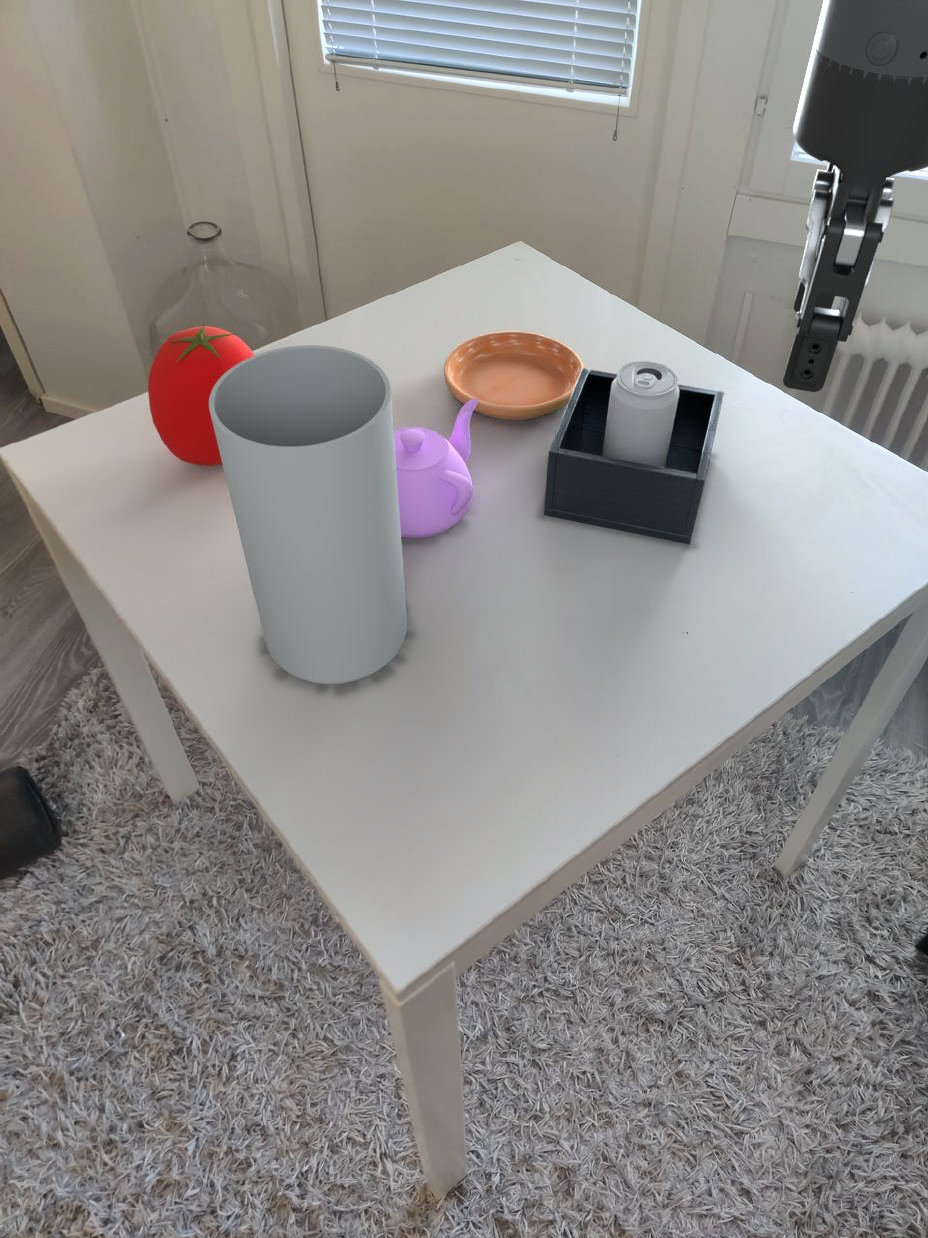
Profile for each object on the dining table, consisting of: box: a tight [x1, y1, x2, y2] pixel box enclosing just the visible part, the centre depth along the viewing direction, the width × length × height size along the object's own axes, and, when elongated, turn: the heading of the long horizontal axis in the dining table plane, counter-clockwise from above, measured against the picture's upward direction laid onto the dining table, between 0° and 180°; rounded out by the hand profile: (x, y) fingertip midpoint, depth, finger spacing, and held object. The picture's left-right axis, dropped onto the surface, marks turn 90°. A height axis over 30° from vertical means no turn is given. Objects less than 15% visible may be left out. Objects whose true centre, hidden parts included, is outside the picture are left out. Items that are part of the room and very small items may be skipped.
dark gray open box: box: [543, 368, 725, 545], centre depth 95 cm, size 15×15×8 cm
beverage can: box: [602, 360, 679, 468], centre depth 92 cm, size 6×6×12 cm
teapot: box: [394, 398, 478, 539], centre depth 92 cm, size 12×14×9 cm
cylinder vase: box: [209, 344, 408, 685], centre depth 75 cm, size 12×12×25 cm
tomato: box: [147, 324, 256, 467], centre depth 97 cm, size 13×11×14 cm
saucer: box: [443, 330, 585, 421], centre depth 108 cm, size 16×16×3 cm
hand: (806, 347), depth 56 cm, fingers open, 8 cm apart
